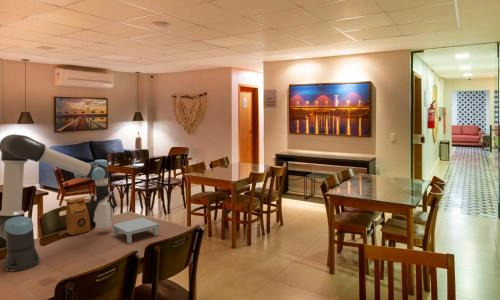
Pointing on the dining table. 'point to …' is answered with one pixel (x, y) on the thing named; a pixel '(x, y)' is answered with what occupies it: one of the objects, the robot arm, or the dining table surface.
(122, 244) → the dining table surface
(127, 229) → the grey square footed tray
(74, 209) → the coffee package
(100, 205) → the milk carton
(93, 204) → the coffee jar
